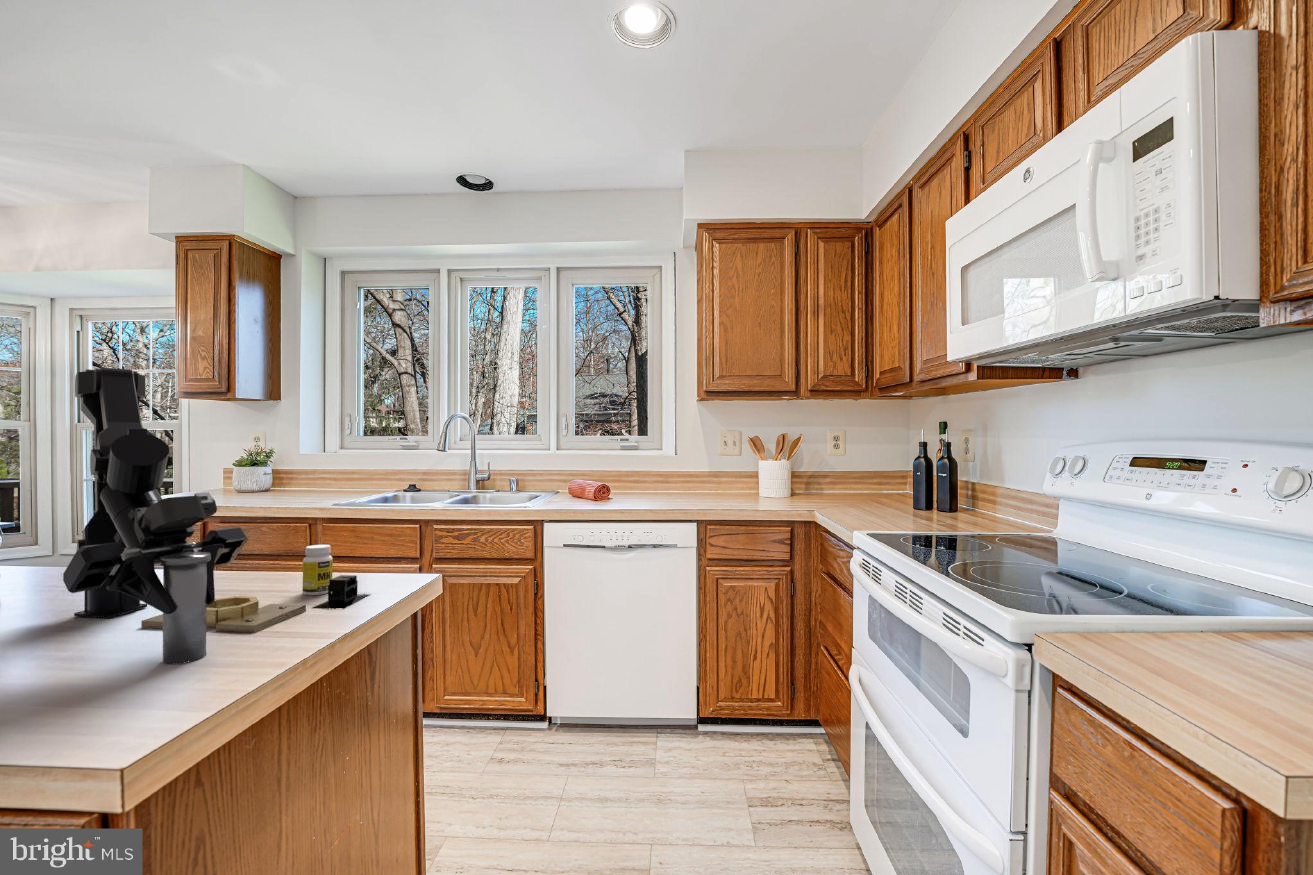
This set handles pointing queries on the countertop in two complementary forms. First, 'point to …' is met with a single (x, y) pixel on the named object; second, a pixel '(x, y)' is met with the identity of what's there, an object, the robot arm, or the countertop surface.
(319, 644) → the countertop surface
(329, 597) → the black notched mount
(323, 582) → the supplement bottle
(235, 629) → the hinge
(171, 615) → the hinge pin
